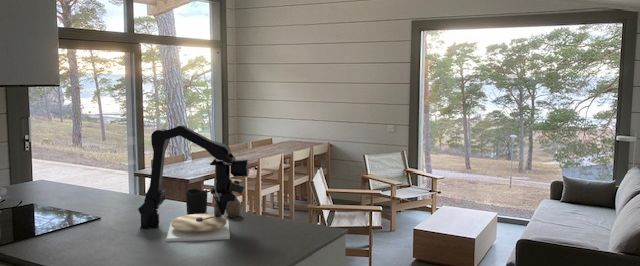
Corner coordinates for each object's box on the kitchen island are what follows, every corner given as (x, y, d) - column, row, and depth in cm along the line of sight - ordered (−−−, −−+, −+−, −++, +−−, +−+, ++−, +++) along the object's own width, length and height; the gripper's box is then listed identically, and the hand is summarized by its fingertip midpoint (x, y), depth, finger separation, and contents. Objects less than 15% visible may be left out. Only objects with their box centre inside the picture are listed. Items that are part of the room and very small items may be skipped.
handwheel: (194, 239, 191) (194, 218, 190) (160, 228, 203) (160, 208, 203) (238, 226, 207) (238, 207, 207) (204, 217, 220) (204, 199, 219)
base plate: (166, 241, 192) (166, 238, 192) (171, 224, 214) (171, 221, 214) (229, 239, 196) (229, 235, 196) (228, 222, 219) (228, 219, 219)
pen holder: (203, 209, 241) (203, 187, 240) (210, 213, 233) (210, 191, 232) (183, 211, 236) (183, 189, 235) (190, 216, 228) (189, 193, 227)
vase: (238, 218, 226) (238, 198, 225) (223, 217, 227) (223, 197, 226) (243, 214, 232) (243, 195, 231) (229, 213, 234) (229, 194, 233)
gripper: (248, 178, 203) (248, 218, 204) (237, 172, 220) (237, 208, 221) (219, 180, 198) (219, 220, 200) (210, 173, 216) (210, 210, 217)
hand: (222, 214), depth 209 cm, fingers closed
